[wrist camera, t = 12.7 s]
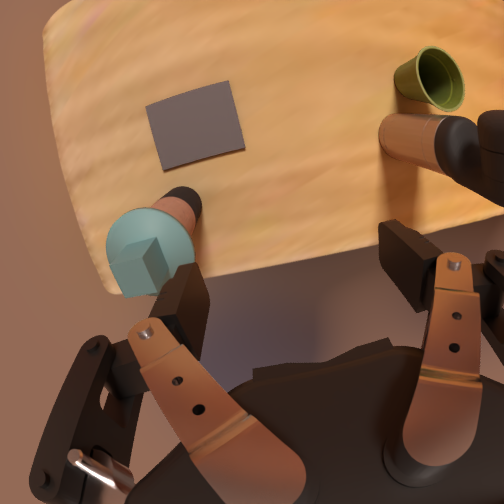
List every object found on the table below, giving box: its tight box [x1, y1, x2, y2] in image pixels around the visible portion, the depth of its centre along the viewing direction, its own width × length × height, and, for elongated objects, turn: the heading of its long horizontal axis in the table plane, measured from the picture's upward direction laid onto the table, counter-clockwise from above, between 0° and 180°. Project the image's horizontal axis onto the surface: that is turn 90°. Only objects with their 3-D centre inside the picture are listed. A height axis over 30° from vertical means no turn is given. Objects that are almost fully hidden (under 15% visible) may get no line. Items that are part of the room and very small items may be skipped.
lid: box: [106, 207, 195, 298], centre depth 28 cm, size 11×11×6 cm
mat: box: [146, 81, 245, 170], centre depth 42 cm, size 15×12×1 cm
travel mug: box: [150, 186, 202, 236], centre depth 39 cm, size 8×8×20 cm
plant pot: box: [394, 46, 465, 112], centre depth 33 cm, size 12×12×11 cm
